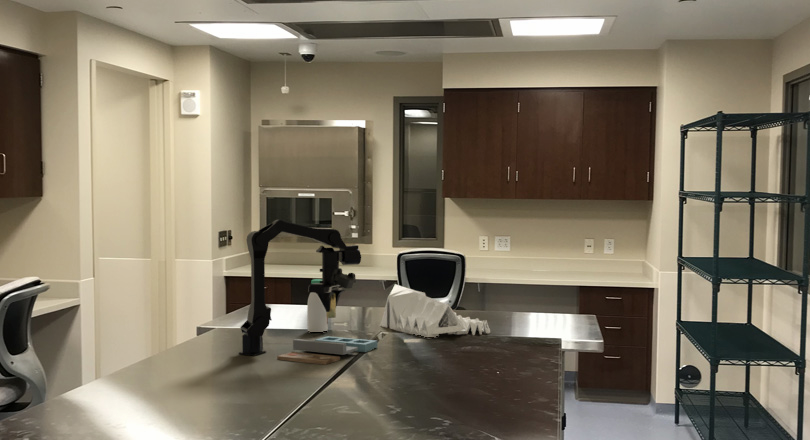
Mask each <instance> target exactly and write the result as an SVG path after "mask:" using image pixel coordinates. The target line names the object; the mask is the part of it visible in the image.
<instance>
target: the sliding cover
mask: <svg viewBox="0 0 810 440" xmlns="http://www.w3.org/2000/svg"><path fill="white" fill-rule="evenodd" d="M292 350H293V351H300V352H301V351H302V352H310V353H311V352H313V353H320V354H322V353H323V354H330V355H331V354H333V355H341V356H343V355H347V354H349V353H352V352H357V351H356V350H358V347H349V346H346V343H336V342H325V341H315V339H314V340H313V339H312V340H311V339H301V338H294V339H293V340H292Z"/></svg>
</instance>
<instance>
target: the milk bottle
mask: <svg viewBox="0 0 810 440" xmlns="http://www.w3.org/2000/svg"><path fill="white" fill-rule="evenodd" d="M320 281H322V279H319V278H318V279H312V280H311V282H310V284H313V283H320ZM306 312H307V315H306V316H307V317H306V318H307V332H308V331H310V332H323V331H327V332H328V331H329V330H328V326H329V325H328V324H329V321H328V320H329V318H327V317H326V310H325V308H324V306H323V304H322V302H321V300H320V298H319V296H318V295H317V294H316V293H314V292H309V295H308V298H307V311H306ZM310 332H309V333H310ZM323 333H324V332H323Z"/></svg>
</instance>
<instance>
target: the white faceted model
mask: <svg viewBox="0 0 810 440" xmlns="http://www.w3.org/2000/svg"><path fill="white" fill-rule="evenodd" d="M379 327H382V328H388V327H389V329H391V330H394V331H396V332H401V333H405V334H408V335H409V334H410V335H413V334H415V335H414V336H417V335H421V336H424V337H423V338H425V337H434V338H437V337H436V336H438V337H439V336H440V335H439V334H441V335H442V334H448V335H452V334H454V335H465V334H466V335H467V334H469V332H470V331H471V335H472V336H475V335H476V332H479V333H478V334H479V335H482V334H483V332H485V333H486V334H491V329H490V327H489V323H488V320H487V319H485V320H480V318H477V317H476V318H474V319H473V318H472V319H471V317H470V316H466V317H463V316H462V315H461V314H458V315H457V312H455V311H454V310H453V309H452V307H451V306H450V304H447V303H445V302H442V301H440V300H437V299H434V298H432V297H430V296H427V294H426V292H424V291H423V292H422V291H419V290H415V289H412V288H408V287H405V286H402V285H399V284H396V283H395V284H394V286H393V288H392V290H391V291H390V293H389V295H388V296H387V299H386V302H385V307H384V309H383V315H382V318H381V322H380V323H379ZM421 336H420V337H421Z"/></svg>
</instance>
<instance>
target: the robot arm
mask: <svg viewBox="0 0 810 440" xmlns="http://www.w3.org/2000/svg"><path fill="white" fill-rule="evenodd" d="M281 233H285V234H290V235H293V236H298V237H303V238H307V239H310V240H313V241H315V242H317V243H319V244H322V245H320V246H319V247H318V248H317V249H316V250H315V252H316V253H318V254H319V253H320V254H321V260H322V261H321V265H322V266H321V267H322V268H319V273H321V278H322V279H321V280H322V281H320V283H313V284H311V283H310V284H309V285H308V286H307V287H308V290H307V291H308V293H311V292H314V293H316V294H317V295H318V296H319V298H320V300H321V302H322V304H323V306H324V308H325V310H326V312H329V311H330V303H331V296H332V295H333V294H334V293H335V294H336V307H337V306H338V302H339V300H340V296H341V295H342V294H343V293H344V292H346V289H352V288H353V286H354V283H356V282H357V279H356V273H354V272H348V274H347V273H343V269H342V268H340V264H341V265H343V266H354V265H356V266H357V265H360V264H361V262H362V254H361V251H360V249H359V245H358V244H352V245H347V244H346V243H345V242H344V241H343V239H342V236H341V233H340V231H339V230H338V229H335V228H316V227H311V226H308V225H307V226H306V225H302V224H298V223H293V222H289V221H286V220H283V219H274V221H272V222H271V223H269V224H268V225H266V226H264V227H262V228H259V229H258V230H254V231H253V230H252V231H251V232H249V233H248V234H247V235H246V244H247V246H246V247H247V251H248V253H249V257H250V263H251V264H250V265H251V266H250V269H251V270H250V276H251V277H250V278H251V284H250V285H251V288H250V289H251V292H250V293H251V295H250V296H251V298H250V299H251V302H250V306H249V309H248V312H247V318H246V319H247V320H245V322H244V323H243V324H242V325H240V327H239V328H240V330H241V333H242V334H243V335H242V336H241V337H242V341H241V342H242V344H241V345H242V346H241V347H242V349H241V350H242V351H239V352H238V355H246V356H257V355H261V354H264V353H267V350H264V342H263V341H264V340H263V336H264V334H265V330H266V329H268V327H269V325H270V321H272V317H271V316H272V315H271V312H272V308H271V306H267V304H266V296H265V295H266V291H265V290H266V286H265V285H266V283H265V282H266V281H265V279H266V278H265V277H266V276H265V275H266V274H265V272H266V271H265V269H266V268H265V267H266V266H265V263H266V261H265V260H266V255H267V252H268V248H269V242H271V241H272V240H273V239H275V238H276V237H277V236H278V235H280V234H281ZM325 246H328V247H325ZM335 249H336V250H335ZM337 249H339V250H337Z"/></svg>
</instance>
